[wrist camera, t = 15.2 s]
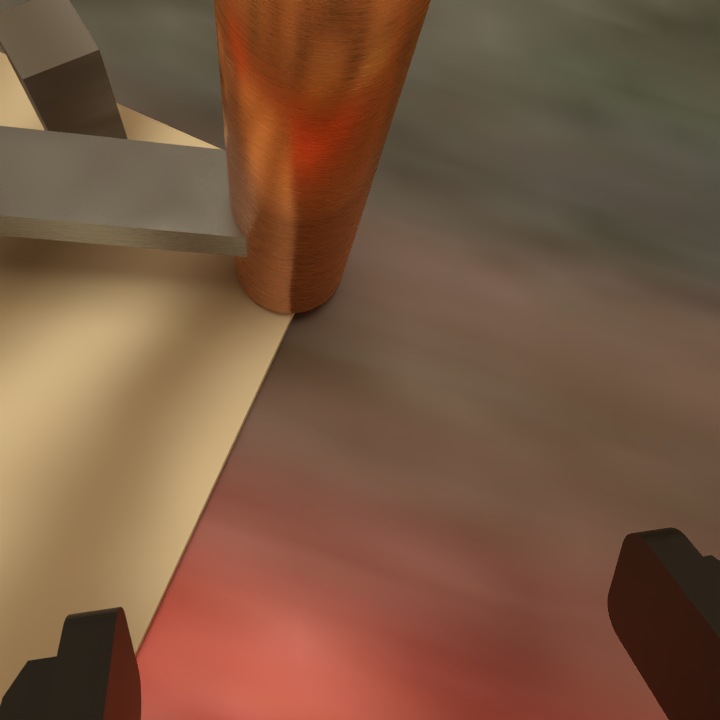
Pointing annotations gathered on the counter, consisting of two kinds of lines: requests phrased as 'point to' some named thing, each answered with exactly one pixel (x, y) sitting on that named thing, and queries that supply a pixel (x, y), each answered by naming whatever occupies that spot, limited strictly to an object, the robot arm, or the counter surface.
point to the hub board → (106, 375)
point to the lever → (240, 152)
